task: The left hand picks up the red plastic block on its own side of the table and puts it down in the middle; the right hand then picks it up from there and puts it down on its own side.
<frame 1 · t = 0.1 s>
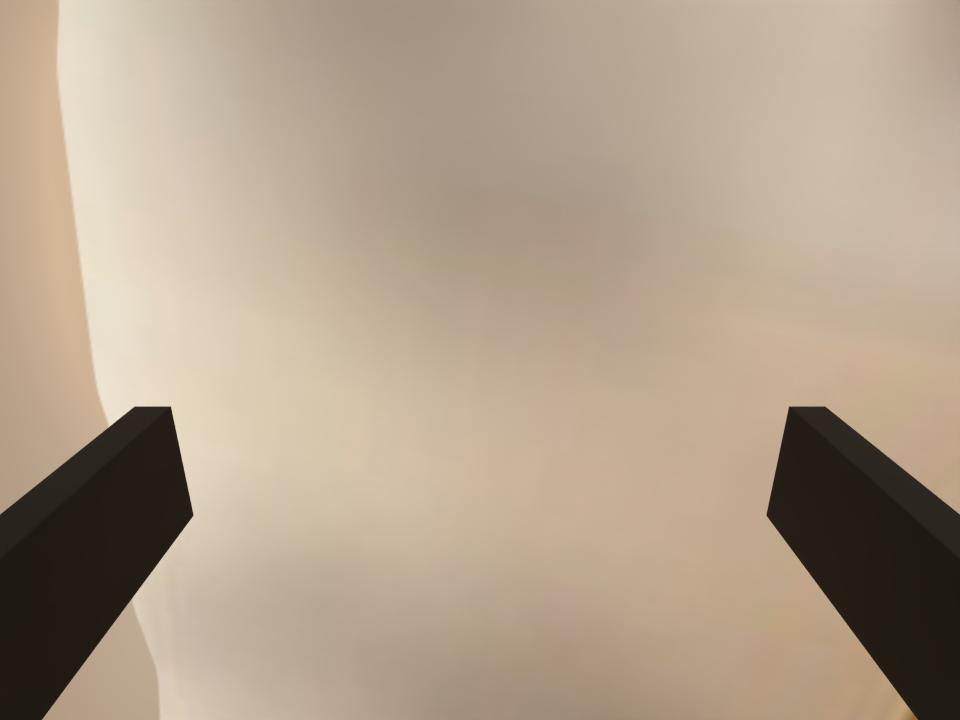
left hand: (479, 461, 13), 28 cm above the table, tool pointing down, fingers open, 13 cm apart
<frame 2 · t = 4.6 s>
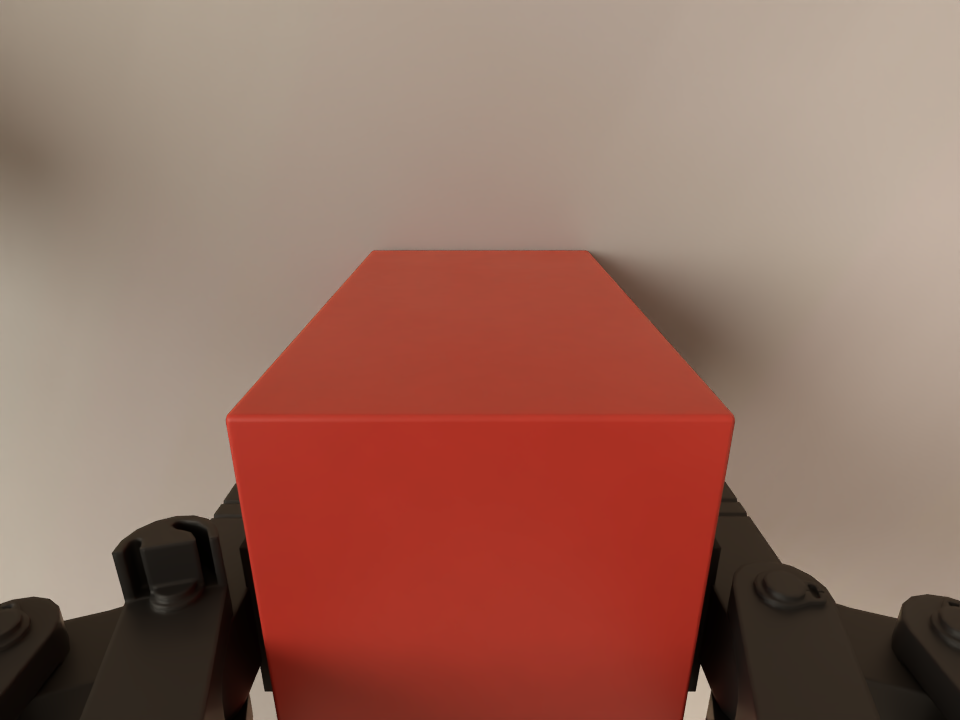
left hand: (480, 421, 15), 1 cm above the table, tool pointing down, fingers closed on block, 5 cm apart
block: (480, 404, 16), on the table, touching left hand
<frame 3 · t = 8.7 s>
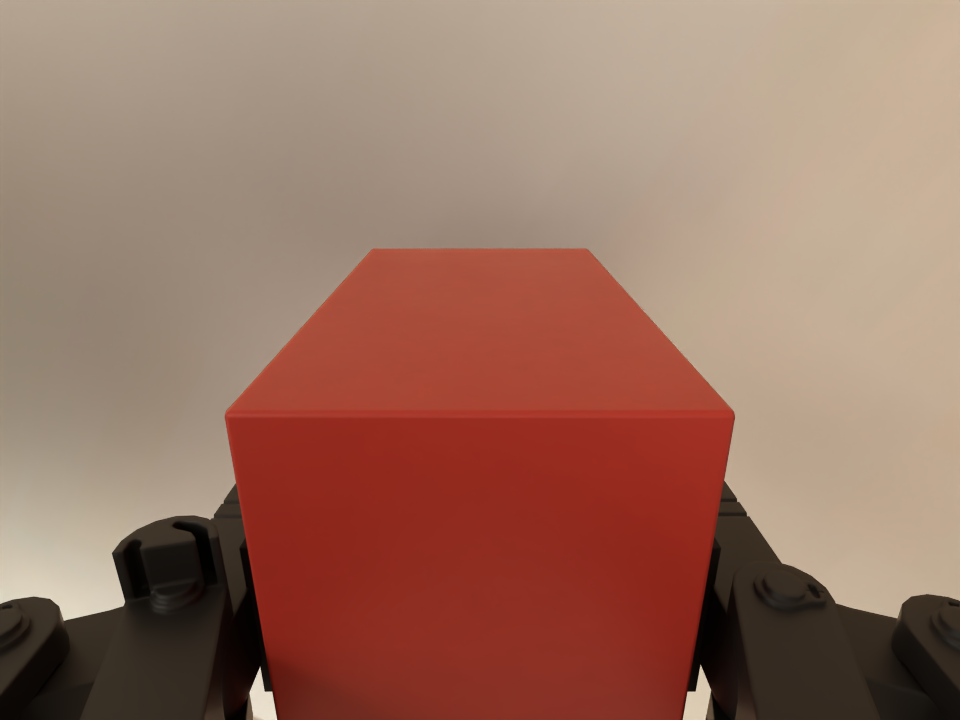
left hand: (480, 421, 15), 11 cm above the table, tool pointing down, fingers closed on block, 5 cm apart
block: (479, 402, 16), point 10 cm above the table, touching left hand
when the left hand's fingers open (3 cm above the table, at t = 12.7 s): block drops 2 cm, on the table.
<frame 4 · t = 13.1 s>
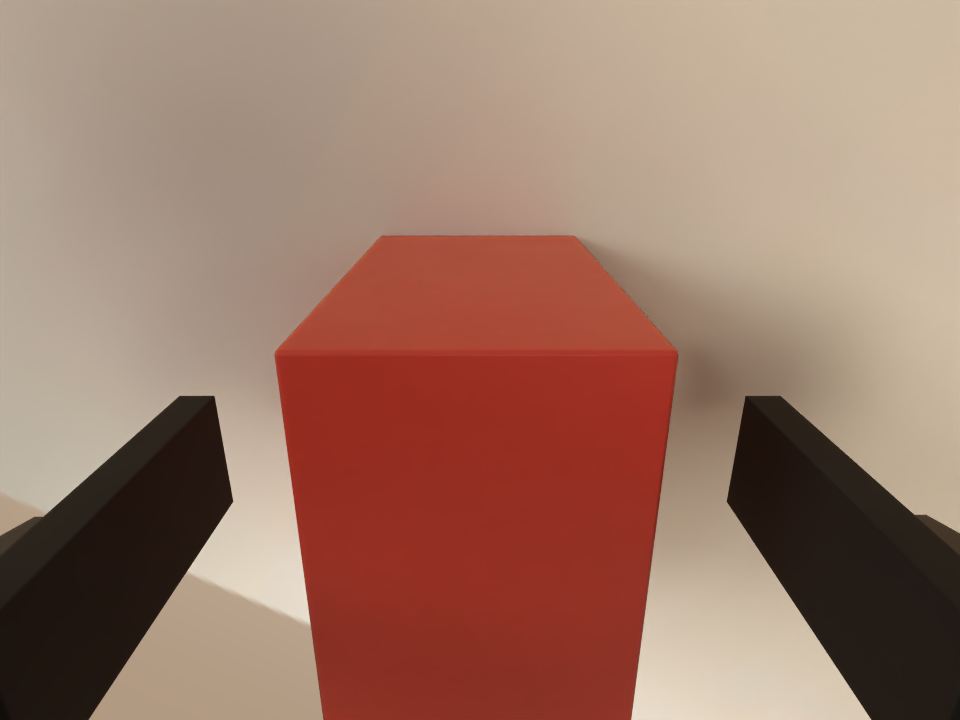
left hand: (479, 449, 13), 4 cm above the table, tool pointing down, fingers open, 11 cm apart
block: (478, 376, 17), on the table
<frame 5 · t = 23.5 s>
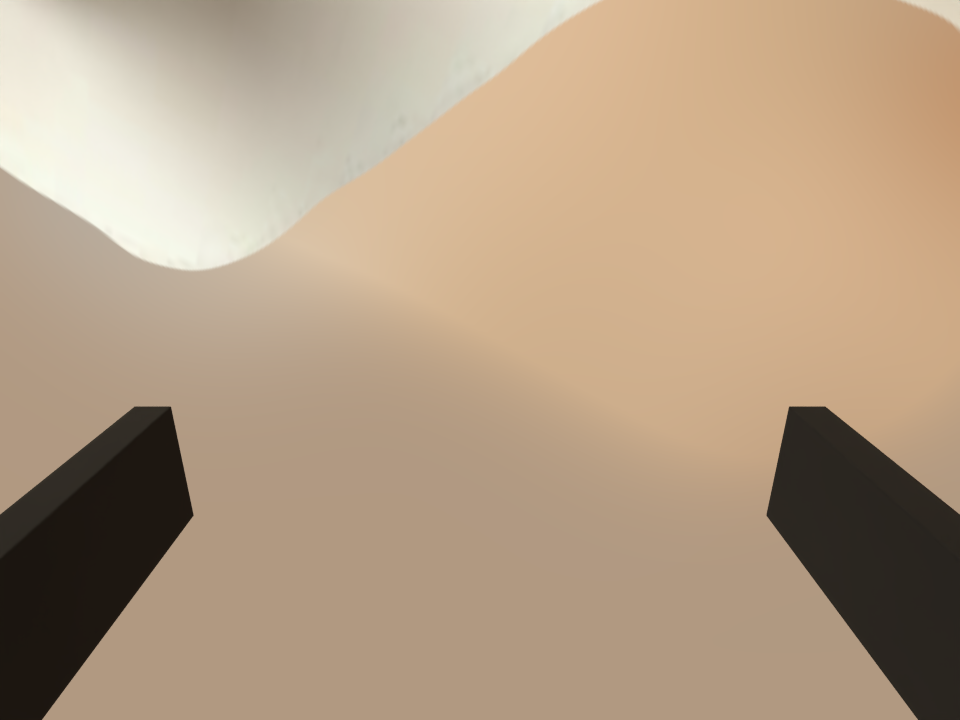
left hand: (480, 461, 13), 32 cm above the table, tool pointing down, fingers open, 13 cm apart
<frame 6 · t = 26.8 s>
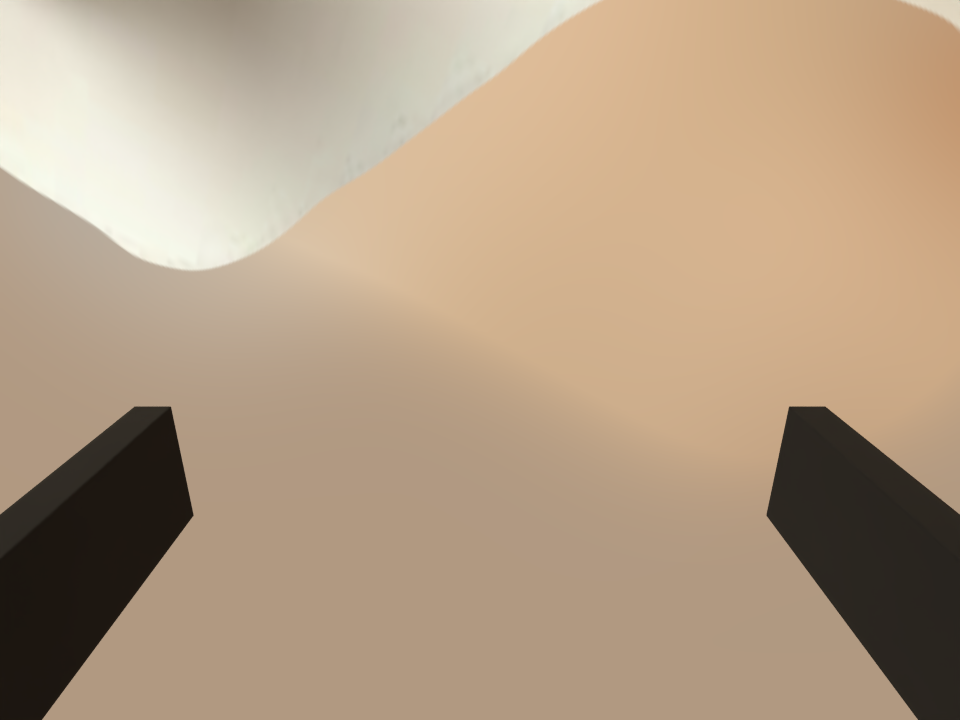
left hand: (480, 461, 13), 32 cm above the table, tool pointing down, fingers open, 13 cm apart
when the right hand's fingers open (3 cm above the table, at t = 30.2 s): block drops 2 cm, on the table.
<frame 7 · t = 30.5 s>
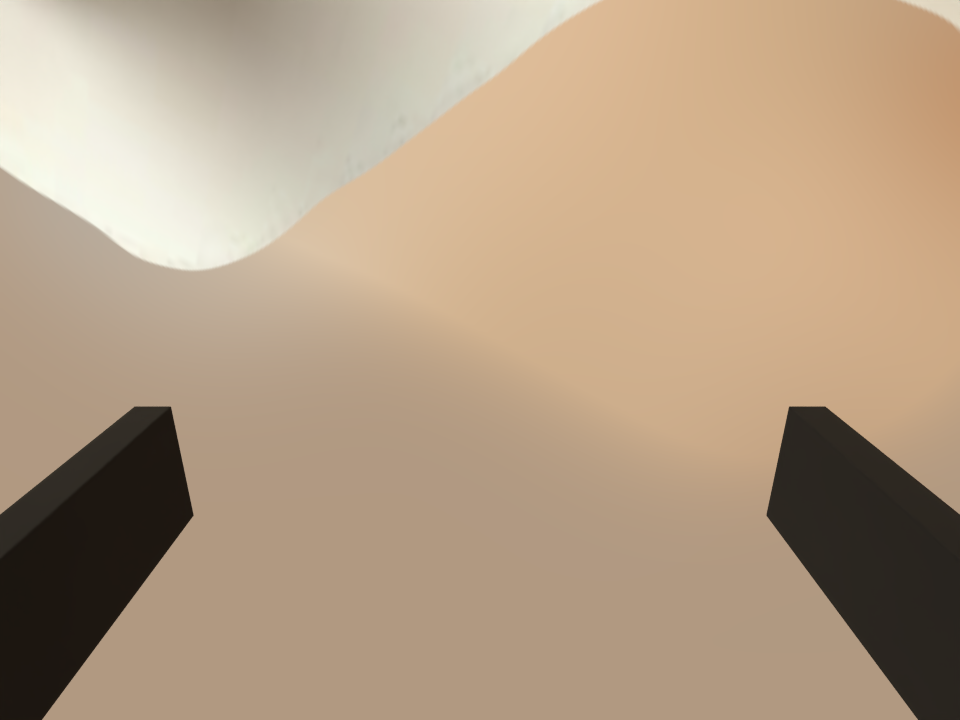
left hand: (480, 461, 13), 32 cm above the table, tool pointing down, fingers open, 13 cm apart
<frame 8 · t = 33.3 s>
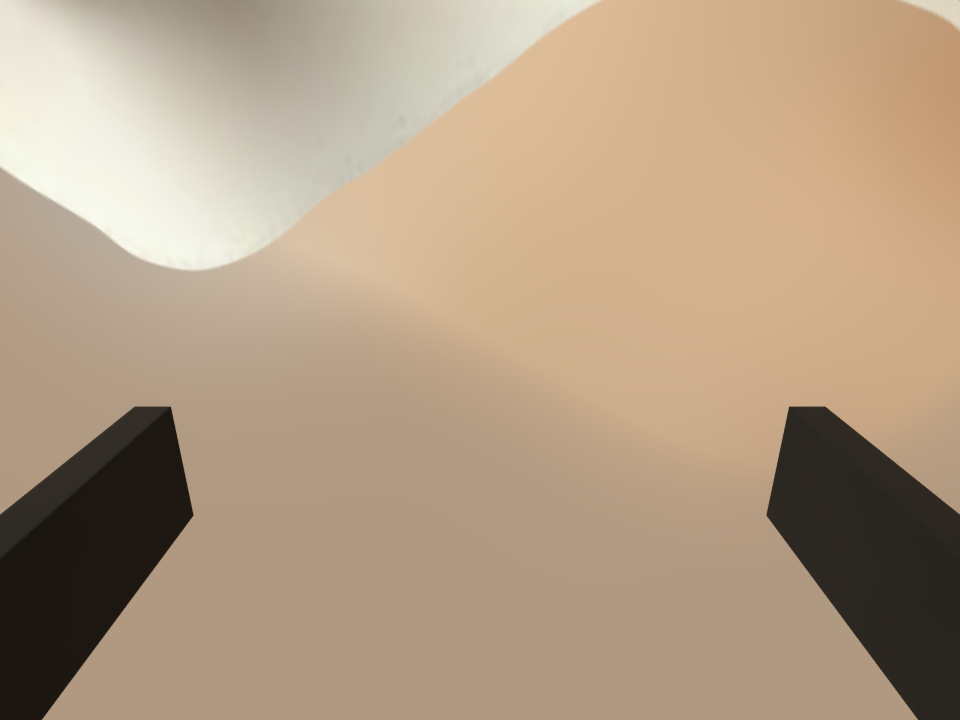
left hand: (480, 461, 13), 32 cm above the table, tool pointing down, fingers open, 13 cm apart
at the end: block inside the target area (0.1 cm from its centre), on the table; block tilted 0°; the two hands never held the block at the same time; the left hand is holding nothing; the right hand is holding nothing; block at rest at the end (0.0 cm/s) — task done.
